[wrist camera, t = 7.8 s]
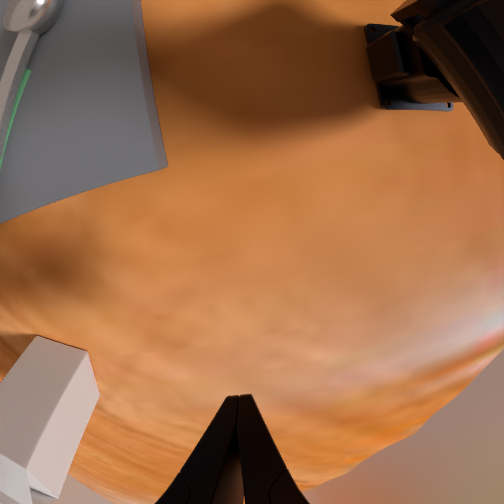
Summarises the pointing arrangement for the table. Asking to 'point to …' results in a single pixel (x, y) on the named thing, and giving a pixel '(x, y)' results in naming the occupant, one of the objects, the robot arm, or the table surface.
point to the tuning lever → (22, 48)
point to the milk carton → (43, 419)
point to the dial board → (80, 107)
